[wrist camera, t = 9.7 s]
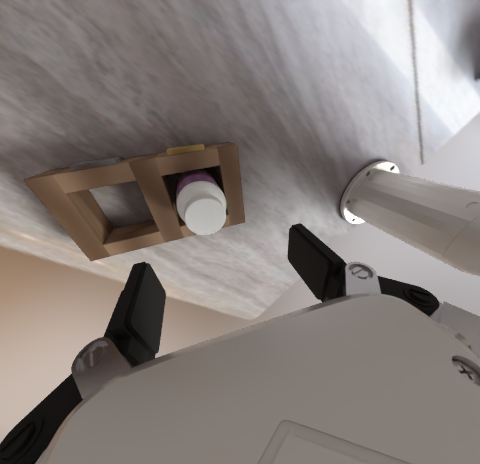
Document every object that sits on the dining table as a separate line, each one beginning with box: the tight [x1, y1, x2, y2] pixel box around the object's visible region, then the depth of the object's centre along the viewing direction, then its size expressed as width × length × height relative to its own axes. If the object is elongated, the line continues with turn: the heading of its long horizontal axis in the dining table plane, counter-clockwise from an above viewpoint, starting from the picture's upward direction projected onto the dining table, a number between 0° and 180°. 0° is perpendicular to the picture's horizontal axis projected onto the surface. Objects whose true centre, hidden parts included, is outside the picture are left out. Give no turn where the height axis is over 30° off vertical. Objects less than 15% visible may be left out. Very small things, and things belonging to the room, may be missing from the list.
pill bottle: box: [177, 169, 226, 235], centre depth 20 cm, size 5×5×10 cm
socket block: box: [23, 142, 245, 261], centre depth 21 cm, size 20×10×4 cm, turn 96°
